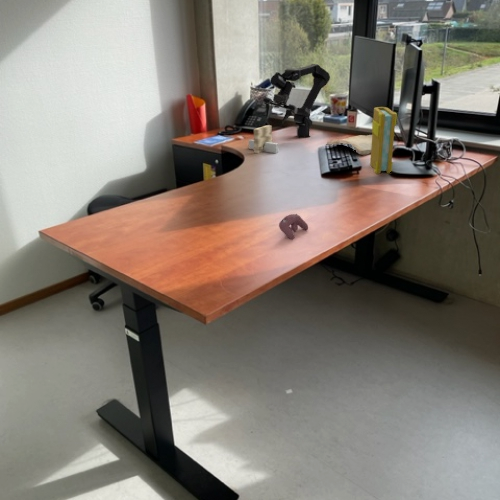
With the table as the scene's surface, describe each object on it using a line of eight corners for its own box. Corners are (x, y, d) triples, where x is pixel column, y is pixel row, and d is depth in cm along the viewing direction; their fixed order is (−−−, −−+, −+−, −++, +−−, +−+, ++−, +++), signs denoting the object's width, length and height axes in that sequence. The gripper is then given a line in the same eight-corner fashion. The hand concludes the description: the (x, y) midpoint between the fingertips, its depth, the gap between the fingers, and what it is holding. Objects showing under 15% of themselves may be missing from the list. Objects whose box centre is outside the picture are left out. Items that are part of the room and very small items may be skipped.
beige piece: (348, 143, 260) (323, 147, 248) (350, 129, 257) (325, 132, 245) (385, 153, 243) (360, 157, 231) (388, 138, 240) (362, 141, 228)
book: (391, 173, 206) (397, 113, 195) (375, 173, 206) (380, 114, 196) (382, 162, 221) (387, 106, 210) (368, 162, 222) (371, 107, 211)
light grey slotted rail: (249, 148, 255) (248, 140, 253) (251, 147, 256) (251, 139, 254) (276, 153, 244) (275, 144, 242) (278, 152, 245) (278, 143, 243)
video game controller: (299, 231, 159) (291, 212, 158) (310, 228, 155) (302, 208, 154) (282, 242, 152) (274, 222, 151) (293, 239, 149) (285, 218, 148)
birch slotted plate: (268, 147, 255) (267, 125, 249) (271, 148, 253) (271, 125, 248) (254, 152, 247) (253, 129, 242) (258, 153, 245) (257, 129, 240)
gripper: (264, 83, 250) (254, 111, 252) (297, 92, 245) (286, 121, 246) (270, 90, 261) (260, 117, 262) (301, 99, 255) (291, 127, 257)
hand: (274, 120), depth 257 cm, fingers open, 9 cm apart
